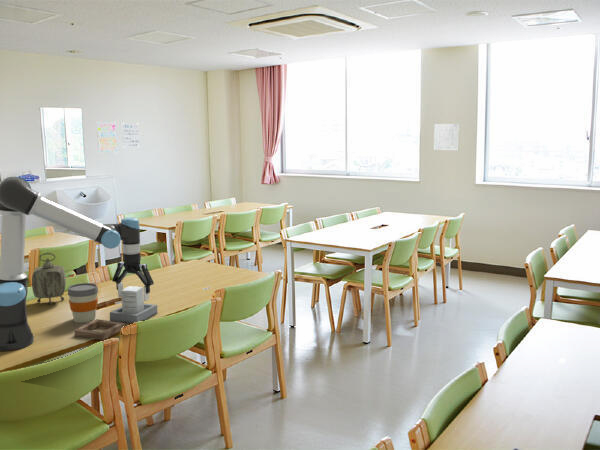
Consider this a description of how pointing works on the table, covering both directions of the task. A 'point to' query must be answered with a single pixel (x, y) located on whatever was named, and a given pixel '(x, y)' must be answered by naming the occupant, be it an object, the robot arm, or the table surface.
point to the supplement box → (132, 300)
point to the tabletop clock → (48, 280)
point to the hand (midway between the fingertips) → (133, 298)
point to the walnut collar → (87, 333)
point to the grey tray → (131, 318)
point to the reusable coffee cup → (83, 301)
